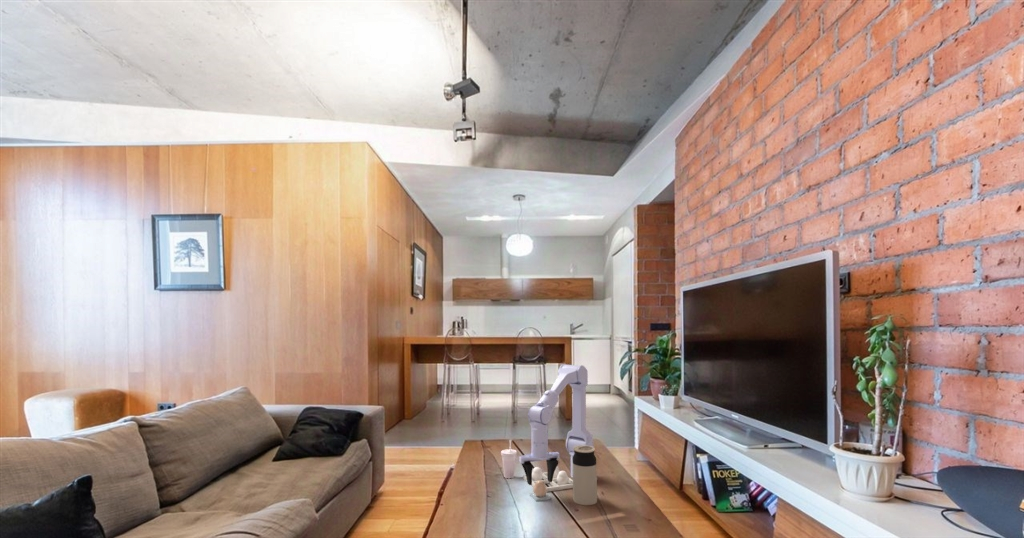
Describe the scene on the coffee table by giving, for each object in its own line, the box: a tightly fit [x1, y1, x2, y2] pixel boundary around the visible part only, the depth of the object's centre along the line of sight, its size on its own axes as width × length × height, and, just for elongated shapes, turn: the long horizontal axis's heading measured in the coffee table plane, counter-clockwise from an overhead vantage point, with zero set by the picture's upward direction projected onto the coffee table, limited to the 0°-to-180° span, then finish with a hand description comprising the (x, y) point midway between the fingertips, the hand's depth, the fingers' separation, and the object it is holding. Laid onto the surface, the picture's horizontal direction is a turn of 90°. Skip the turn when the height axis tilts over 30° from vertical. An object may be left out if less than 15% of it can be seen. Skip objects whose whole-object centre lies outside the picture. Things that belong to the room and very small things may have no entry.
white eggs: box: [532, 465, 570, 485], centre depth 170 cm, size 12×12×5 cm
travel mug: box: [572, 445, 598, 506], centre depth 154 cm, size 8×8×18 cm
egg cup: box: [529, 492, 552, 502], centre depth 156 cm, size 6×6×2 cm
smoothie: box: [500, 439, 518, 480], centre depth 179 cm, size 6×6×14 cm
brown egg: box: [532, 480, 548, 497], centre depth 156 cm, size 5×5×5 cm
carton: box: [522, 471, 573, 493], centre depth 169 cm, size 15×15×2 cm
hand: (539, 482), depth 156 cm, fingers open, 7 cm apart
